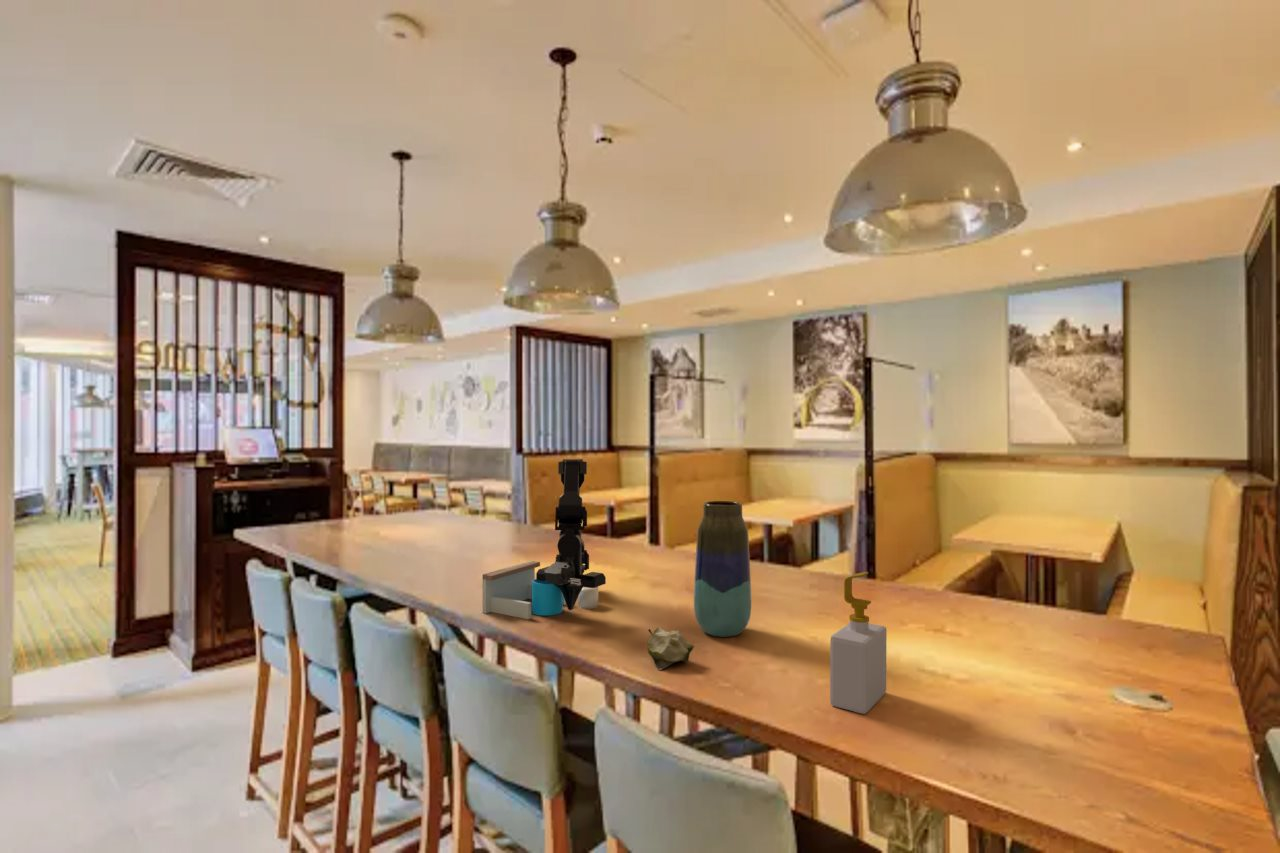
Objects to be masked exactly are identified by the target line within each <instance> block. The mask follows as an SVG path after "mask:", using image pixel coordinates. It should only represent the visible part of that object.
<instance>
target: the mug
mask: <svg viewBox="0 0 1280 853" xmlns="http://www.w3.org/2000/svg"><path fill="white" fill-rule="evenodd" d="M563 606H564V605H563V594H562V591H561V590H560V589H559V588H558V587H557V586H554V583H547V580H546V581H538V580H536V578H535V579H534V580H532V599H531V614H534V615H536V616H555V615H558V614H561V613H562V612H563V609H564V608H563Z"/></svg>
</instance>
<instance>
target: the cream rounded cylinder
mask: <svg viewBox="0 0 1280 853" xmlns="http://www.w3.org/2000/svg"><path fill="white" fill-rule="evenodd" d="M577 607H578V608H580V609H585V610H587V609H597V608H598V607H599V586H598V587H596V588H588V587H583V588H582V590H581V592H580V594H579V596H578V598H577Z"/></svg>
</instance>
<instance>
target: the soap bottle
mask: <svg viewBox="0 0 1280 853" xmlns="http://www.w3.org/2000/svg"><path fill="white" fill-rule="evenodd" d="M868 574H869V572H868V571H864V572H858V573H854V574H852V575H850V576H848V577H846V578H845V579H844V584H843V585H844V588H843V589H844V596H843V597H844V601H845V602H846V603H848V604H850V608H852V609H854V611H853V612H854V613H851V614H849V617H848V618H849V619H848V620H849V623H848V624H846V625H845V626H843V627H842V628H840V629H839V630H837V631H836V632H835V633H833V634H832V635H831V637H830V640H829V641H830V644H829V646H830V648H829V649H830V653H829V654H830V658H829V659H830V660H829V661H830V662H829V663H830V664H829V665H830V667H829V668H830V670H829V671H830V673H829V674H830V675H829V676H830V680H829V684H830V685H829V689H830V691H829V692H830V695H829V697H830V698H829V699H830V701H829V702H830V705H831V706H833V707H837V708H840V709H843V710H848V711H850V712H855V713H858V714H862V715H865V714H868V713H869V711H870V710H871V709H872V708H873V707H874V706H875V705H876V704H877V703H878V702H879V701H880V700H881V699H882V697H883V696H885V694H886V692H887V632H888V631H887V627H886V626H884V625H881V624H880V625H879V624H874V623H869V622H870V616H868V615H866V614H865V610H868V606H869V605H870V604H871V603H872V601H871V600H869V599H862V598H857V597H854V596H853V579H856V578H857V579H858V578H862V577H865V576H867V575H868Z"/></svg>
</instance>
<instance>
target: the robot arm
mask: <svg viewBox="0 0 1280 853" xmlns="http://www.w3.org/2000/svg"><path fill="white" fill-rule="evenodd" d="M557 464H558V465H557V466H558V467H557V468H558V469H557V473H558V474H557V475H559V476H560V482H561V484H562V485H563V494H562V495H561V496H560V497H559V498H558V503H557V504H558V506H555V514H554V516H555V518H554V519H555V520H554V521H555V522H554V531H560V532H559V533H558V534H559V539H558V541H557V545H556V546H557V550H558V554H556V555H555V562H554V563H552V564H551V565H548V566H545V567H543V568H539V569H538V570H537V571H536V572H535V576H536V578H535V579H536V580H538V581H546V580H547V583H554V586H557V587H558V588H559V589H560V590H561V591H562V594H563V596H564V599H565V602H566V607H567V610H568V611H572V610H573V609H574V607H575V604H576V602H577V601H578V596H579V594H580V592H581V590H582V588H583V587H588V588H596V587H598V588H599V587H600V586H604V585H605V584H606V583H607V582H606V575H605V573H603V572H596V571H591V572H588V573H585V571H587V570H590V554H589V553H588V550H587V549H585V542H584V540H583V539H582V532H581V531H585V529H586V527H588V510H587V508H586V506H583V498H582V497H581V496H580V489H581V488H582V485H583V484H584V482H585V476H586V475H587V474H588V462H587V461H584V459H583V458H576V459H575V458H573V459H572V458H563V459H562V461H558V462H557ZM584 573H585V574H584Z"/></svg>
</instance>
